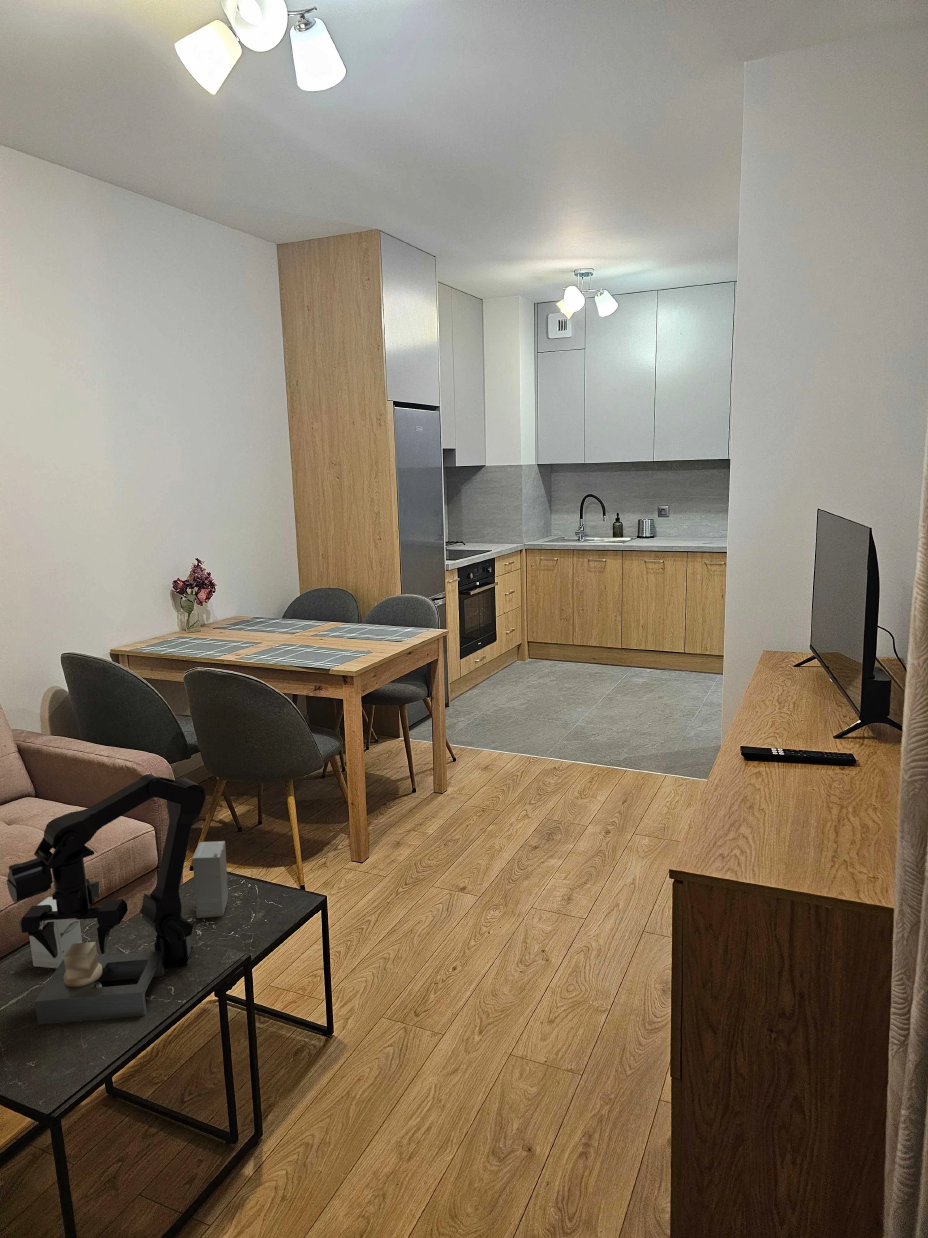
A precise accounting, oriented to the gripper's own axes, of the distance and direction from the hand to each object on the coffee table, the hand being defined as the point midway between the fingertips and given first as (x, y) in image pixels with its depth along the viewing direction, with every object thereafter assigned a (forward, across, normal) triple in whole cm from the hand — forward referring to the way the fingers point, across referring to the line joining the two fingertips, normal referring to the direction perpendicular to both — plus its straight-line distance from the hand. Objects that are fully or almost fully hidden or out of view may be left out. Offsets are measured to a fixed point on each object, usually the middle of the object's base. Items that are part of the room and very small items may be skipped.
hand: (79, 955), depth 164 cm
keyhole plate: (+10, -4, 0) cm, 10 cm away
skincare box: (+10, -19, -32) cm, 38 cm away
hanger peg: (+9, 0, 0) cm, 9 cm away
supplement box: (+10, +11, -16) cm, 22 cm away
